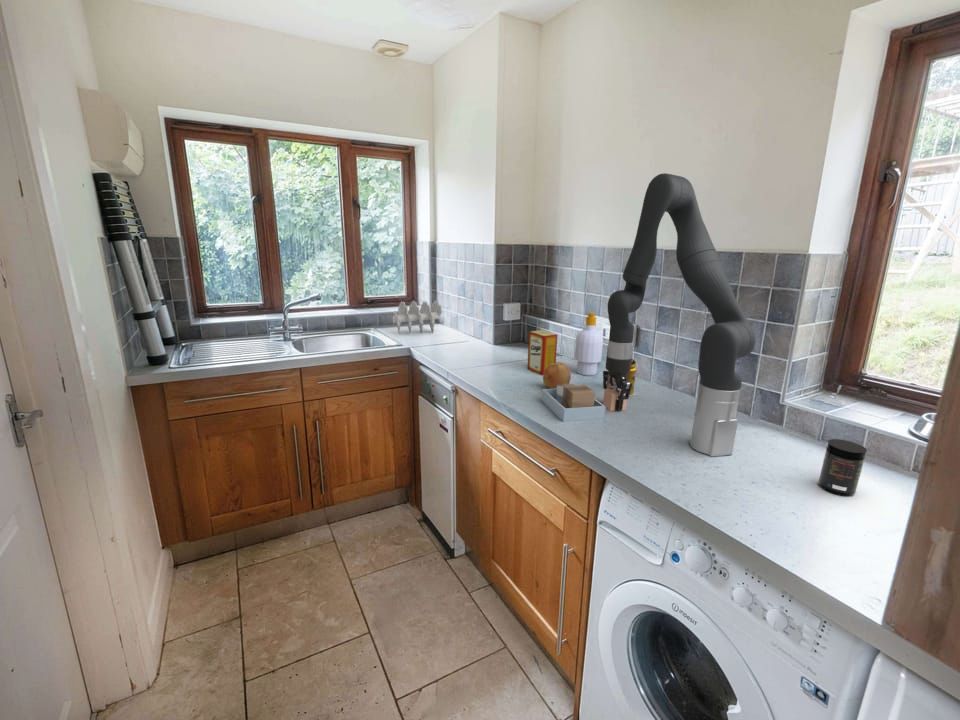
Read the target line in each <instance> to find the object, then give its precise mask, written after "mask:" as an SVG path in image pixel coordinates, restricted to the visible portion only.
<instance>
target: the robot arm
mask: <svg viewBox="0 0 960 720" xmlns="http://www.w3.org/2000/svg"><path fill="white" fill-rule="evenodd" d="M665 213H668V215H669V217H670V219H671V220H672V223H673V226H674V227H675V231H676V236H677V237H676V238H677V239H676V250H675V253H676V255H675V257H676V263H677V265H678V267H679V270H680V273H681V276H682V277H683V278H682V279H683V280H684V282H685V284H686V286H687V287H688V288H689V289H690V291H691V292H692V293H693V294H694V295H695V296H696V297H697V298H698V299H699V300H700V301H701V302H702V303H703V305H704V306H705V307H706V308H707V309H708V311H709V313H710V315H711V317H712V318H711V319H713V324H711V325H709V326H708V327H707V328H706V329H705V331H704V332H703V334H702V337H701V341H700V346H699V347H700V349H699V357H698V358H699V360H698V367H697V368H698V373H699V386H698V391H697V397H696V402H695V403H696V404H695V410H694V417H693V423H692V424H693V425H692V429H691V430H692V431H691V436H690V437H691V438H690V443H689V444H690V447H691V448H692V449H694V450H695V451H697V452H699V453H702V454H705V455H708V456H710V457H720V456H721V457H722V456H727V455H728V456H729V455H730V456H731V455H733V451H734V445H735V441H736V440H735V439H736V434H737V430H738V423H739V420H738V419H737V418H736V416H737V411H738V410H737V409H738V404H739V400H740V395H741V388H742V384H743V379H742V377H741V375H739V374H737V373H736V371H735V369H736V360H737V359H740V358H745V357H747V356H748V355H749V356H750V354H751V353H752V352H753V351H754V349H755V345H756V336H755V332H754V329H753V327H752V326H751V323H750V322H749V320H748V319H747V316H746V315H745V313H744V311H743V310H742V307H741V306H740V304H739V302H738V300H737V299H736V296H735V293H734V291H733V289H732V286H731V284H730V282H729V279H728V277H727V275H726V272H725V270H724V268H723V263H722V262H721V259H720V257H719V255H718V252H717V250H716V248H715V246H714V243H713V241H712V239H711V236H710V234H709V232H708V229H707V227H706V224H705V222H704V219H703V217H702V213H701V211H700V207H699V203H698V199H697V196H696V193H695V190H694V186H693V184H692V183H691V182H690V181H689V179H687V178H686V177H684V176H681V175H675V174H672V173H665V172H664V173H660V174H657V175H656V176H655V177H653V178H652V179H651V181H650V182H649V183H648V185H647V189H646V191H645V194H644V197H643V202H642V208H641V212H640V216H639V220H638V221H639V222H638V226H637V230H636V235H635V239H634V242H633V246H632V247H631V252H630V254H629V257H628V259H627V261H626V265H625V267H624V269H623V272H622V279H623V280H624V281H625V286H624V288H623V289H621V290H620V289H619V290H616V291H614V292H612V293H611V294H610V296H609V298H608V301H607V315H608V323H609V326H610V327H609V336H608V343H607V348H606V359H605V365H604V367H605V370H603V371H602V385H603V387H602V388H603V390H604V389H614V392H615V393H616V403H615V410H616V412H619V411H623V410H622V408H623V400H625V399H626V400H629V397H630V396H629V394H630V391H631V387H632V382H628V381H627V377H626V374H627V373H628V372H629V371H630V370H631V362H632V359H633V352H634V349H633V348H634V346H633V345H634V335H635V325H634V324H633V322H631V321H630V318H629V314H632V313H635V312H636V311H638V310H639V308H640V307H641V306H642V303H643V301H644V299H645V294H646V293H645V292H646V289H647V287H646V286H647V281H648V279H649V276H650V273H651V271H652V269H653V267H654V264H655V261H656V257H657V251H658V248H657V247H658V246H657V245H658V241H657V240H658V239H657V238H658V231H659V227H660V223H661V220H662V219H663V216H664V215H665ZM617 388H621V389H619V390H618V389H617ZM619 392H620V396H619ZM625 393H626V395H625Z"/></svg>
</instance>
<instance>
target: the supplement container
mask: <svg viewBox="0 0 960 720" xmlns="http://www.w3.org/2000/svg"><path fill="white" fill-rule="evenodd" d="M867 451H868V450H867V448H866V447H864V446H863V445H861V444H859V443H856V442H853V441H849V440H845V439H841V438H840V439H839V438H831V439H828V440H827V443H826V447H825V452H824V457H823V461H822V465H821V469H820V474H819V478H818V481H817V482H818V484H819V486H820V487H821V488H822V489H823V490H824V491H826V492H829V493H832V494H834V495H837V496H842V497H850V496H853V495H854V494H856V492H857V489H858V485H859V482H860V477H861V473H862V470H863V465H864V462H865V459H866V456H867Z"/></svg>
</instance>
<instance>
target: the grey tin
mask: <svg viewBox="0 0 960 720" xmlns="http://www.w3.org/2000/svg"><path fill="white" fill-rule="evenodd" d="M571 385H574V384H572V383H569V384H567V383H563V384H558V385H557V393H556V400H557V401H558V402H559V403H560V404H561V405H562V398H563V386H571Z"/></svg>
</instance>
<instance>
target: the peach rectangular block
mask: <svg viewBox="0 0 960 720" xmlns="http://www.w3.org/2000/svg"><path fill="white" fill-rule="evenodd" d="M603 390H604V391H603V399H602V400H603V402H602V404H603V405H604V406H606V407H605V409H606V410H609V411H610V412H615V411H616V410H615V403H616V393H615V392H614V389H604V388H603ZM618 390H619V389H618ZM625 395H626V393H625ZM619 396H620V392H619ZM626 405H627V399H625V400H623V408H622V410H621V411H625V410H626ZM616 412H617V411H616Z"/></svg>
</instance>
